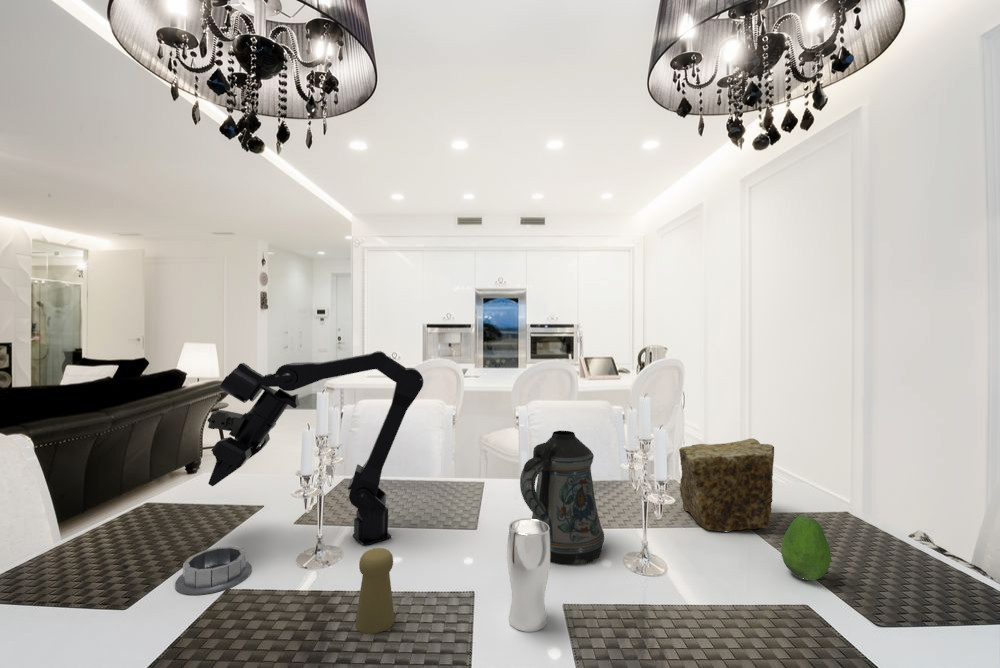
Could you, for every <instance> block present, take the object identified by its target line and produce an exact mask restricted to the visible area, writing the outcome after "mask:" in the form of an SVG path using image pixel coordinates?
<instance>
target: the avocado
mask: <svg viewBox="0 0 1000 668" xmlns="http://www.w3.org/2000/svg"><path fill="white" fill-rule="evenodd" d="M780 553H781V557H782V562H783V564H784V566H785V567H786V568H787V569H788V570H789V571H790V572H791V573H792V574H793V575H794V576H795V575H796V576H795V577H797V576H798V577H797V578H799V577H800V578H799V579H801V578H804V579H808V580H807V581H810V580H811V581H815V580H819V579H821V578H823V577H824V576H825V575H826V573H827V572H828V571H829V568H830V565H831V563H832V555H831V548H830V546H829V542H828V540H827V538H826V535H825V532H824V530H823V528H822V525H820V522H819V521H816V520H815V519H814V518H812V517H810V516H809V515H804V514H803V515H797V516H796V517H795V518H794V519H793V520H792V521H791V523H790V525H789V526H788V528H787V529H786V531H785V532H784V536H783V538H782V539H781V548H780ZM804 579H803V580H804Z"/></svg>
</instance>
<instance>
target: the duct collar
mask: <svg viewBox="0 0 1000 668" xmlns="http://www.w3.org/2000/svg"><path fill="white" fill-rule="evenodd" d="M246 555H247V552H246V551H245V549H244V548H242V547H238V546H234V545H233V546H232V545H231V546H230V545H229V546H219V547H218V546H217V547H214V548H209V549H205V550H202V551H200V552H198V553H195V554H193V555H191V556H189V557H188V558H187V559H186V560H185V561H184V562H183V566H182V574H181V575H179V576H178V578H177V579H176V580H175V582H174V583H175V584H174V587H175V590H176V591H177V592H178V593H180V594H182V595H188V596H203V595H210V594H215V593H218V592H222V591H225V590H228V589H231V588H233V587H235V586H237V585H240V584H241V583H243V582H244V581H245V580H246V579H248V577H249V576H250V575H251V574H252V570H253V569H252V564H251V563H250V562H249V561H247V560H246V559H247V557H246Z"/></svg>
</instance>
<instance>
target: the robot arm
mask: <svg viewBox="0 0 1000 668" xmlns="http://www.w3.org/2000/svg"><path fill="white" fill-rule="evenodd" d="M373 370H376V371H378V372H380V373H381V374H382V375H384V376H386V377H387V378H388V379H390V380H391V381H393V382H394V383H395V385H394V386H395V387H394V392H393V395H392V401H391V405H390V407H389V409H388V411H387V414H386V415H385V418H384V420H383V423H382V425H381V428H380V429H379V432H378V434H377V437H376V440H375V442H374V444H373V446H372V449H371V451H370V454H369V456H368V458H367V460H366V461H365V463H364V464H363V465H362V466H361V464H356V467H355V471H354V475H353V476H352V477H351V479H350V480H349V483H348V486H347V490H348V491H349V492H348V500H349V502H350V503H351V505H352V506H353V507H356V509H357V510H356V515H355V516H356V517H355V518H354V519H353V533H352V537H353V538H354V539H355V540H357V541H358V542H359V543H360V544H361V545H363V546H368V545H371V544H375V543H378V542H381V541H386V540H389V539H391V538H392V534H390V533H389V508H388V507H387V493H386V492H385V491H384V490H383V489H381V487H379V486H380V482H381V477H382V473H383V468H384V465H385V463H386V460H387V458H388V455H389V454H390V451H391V448H392V446H393V444H394V441H395V440H396V437H397V435H398V432H399V430H400V428H401V425H402V422H403V420H404V418H405V415H406V413H407V411H408V409H409V408H410V407H411V405H412V404H413V403H414V401H415V400H416V399H417V396H419V393H420V392H421V391H422V388H423V386H424V378H423V375H422V374H421V373H420V371H419V370H417V369H416V368H414V367H405V366H404V365H402V364H401V363H399V362H397V361H396V360H394V359H393V358H391V357H390V356H388V355H387V354H386V353H385V352H384V351H382V350H377V351H374V352H371V353H367V354H360V355H355V356H350V357H345V358H339V359H334V360H329V361H323V362H322V361H320V362H319V361H318V362H311V361H310V362H307V361H306V362H290V363H286V364H283V365H281V366H279V367H278V368H277V369H276V371H275V373H268V374H265V375H263V374H262V373H260V372H258V371H257V370H255V369H253V368H252V367H250V366H249V365H248V364H247V363H245V362H241V363H238V365H237V366H236V367H235V368H234V369H233V370H232V371H231V372H230V373H229V374H228V375H226V376H225V377H224V379H223V380H222V382H221V384H220V386H219V389H220V390H221V391H223V392H224V393H226V394H228V395H230V396H232V397H233V398H235V399H236V400H238V401H240V402H241V403H244V404H245V403H247V402H248V401H250V402H254V401H255V400H256V399H257V398H258V397H259V398H258V399H257V401H256V402H255V403H254V404H253V406H252V407H251V409H250V410H249V411H247V412H245V413H238V412H235V411H229V410H224V409H223V410H222V409H216V410H215V411H212V412H211V414H210V417H208V418H207V422H208V426H207V428H208V429H210V430H221V431H228V432H229V433H228V435H229V437H224V438H222V439H220V440H218V441H217V442H216V443H215V445H214V446H213V447H212V449H211V452H212V455H213V456H214V457H215V465H214V467H213V469H212V472H211V475H210V478H209V481H208V485H209V486H211V487H215V486H216V485H218V483H220V482H221V481H222V480H224V479H225V478H227V477H229V475H231V474H233V473H234V472H236V471H237V470H238V469H240V468H241V467H242V466H244V465H245V464H246V462H247V461H248V460H249V459H251V458H252V457H254V456H255V455H256V454H257V453H260V451H262V450H263V449H264V447H266V446H267V444H268V443H269V441H270V440H271V437H270V434H269V433H270V431H271V430H272V429H274V428H275V426H277V421H278V420H279V419H280V418H281V416H282V415H283V413H284V412H285V410H286V409H287V407H288V406H290V407H292V408H293V409H296V408H298V407H299V406H300V405H301V404H300V401H299V394H297V393H296V394H292V395H291V394H290V393H288V392H293V391H295V390H298V389H300V388H301V389H302V388H303V387H306V386H309V385H311V384H314V383H317V382H319V381H322V380H324V379H325V380H326V379H331V378H336V377H340V376H346V375H352V374H357V373H361V372H368V371H373ZM272 387H274V388H275V387H278V388H279V389H278V390H276V389H274V388H272ZM260 394H261V395H260ZM259 395H260V396H259Z"/></svg>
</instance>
